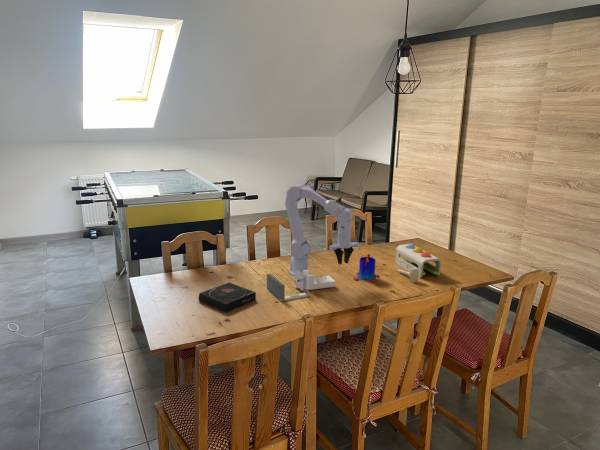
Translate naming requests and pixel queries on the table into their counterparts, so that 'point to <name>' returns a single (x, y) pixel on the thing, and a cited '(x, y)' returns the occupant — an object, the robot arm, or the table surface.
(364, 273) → the fantasy tower
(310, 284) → the bracket
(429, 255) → the pound a ball toy
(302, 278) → the gauge plate
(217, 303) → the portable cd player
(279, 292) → the grey plate with rod
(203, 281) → the table surface
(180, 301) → the table surface
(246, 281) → the table surface
